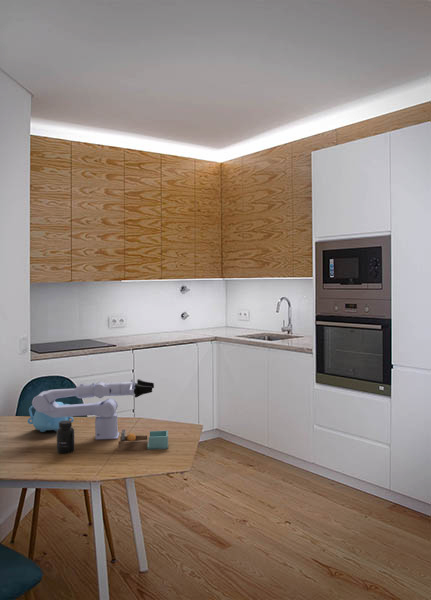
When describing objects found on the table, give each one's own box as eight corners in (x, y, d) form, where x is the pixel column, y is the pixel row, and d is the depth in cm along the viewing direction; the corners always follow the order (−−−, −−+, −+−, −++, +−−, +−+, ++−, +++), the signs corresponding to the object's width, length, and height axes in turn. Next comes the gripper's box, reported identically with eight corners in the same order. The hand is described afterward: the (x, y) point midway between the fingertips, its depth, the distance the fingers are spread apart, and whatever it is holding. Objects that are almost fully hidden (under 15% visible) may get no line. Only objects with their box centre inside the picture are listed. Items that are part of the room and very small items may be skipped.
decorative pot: (45, 435, 224) (46, 404, 224) (24, 429, 234) (25, 399, 234) (76, 429, 237) (77, 399, 237) (55, 423, 247) (55, 394, 247)
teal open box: (147, 449, 207) (147, 437, 207) (148, 443, 215) (148, 431, 215) (167, 448, 208) (167, 436, 208) (168, 442, 216) (167, 430, 216)
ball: (126, 443, 209) (126, 435, 209) (127, 441, 212) (127, 432, 212) (135, 443, 209) (135, 434, 209) (136, 440, 212) (135, 432, 212)
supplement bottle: (58, 455, 202) (57, 425, 202) (55, 450, 208) (54, 421, 208) (76, 452, 205) (75, 422, 205) (72, 447, 211) (71, 418, 211)
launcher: (118, 450, 206) (118, 442, 206) (120, 444, 214) (120, 435, 214) (146, 449, 207) (146, 441, 207) (147, 443, 215) (147, 434, 215)
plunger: (121, 444, 208) (121, 433, 208) (122, 440, 213) (122, 429, 213) (124, 443, 208) (124, 433, 208) (125, 440, 213) (125, 429, 213)
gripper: (118, 383, 216) (150, 381, 217) (123, 376, 231) (154, 374, 231) (119, 400, 217) (151, 398, 217) (124, 391, 231) (154, 390, 232)
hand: (152, 387), depth 224 cm, fingers open, 7 cm apart
